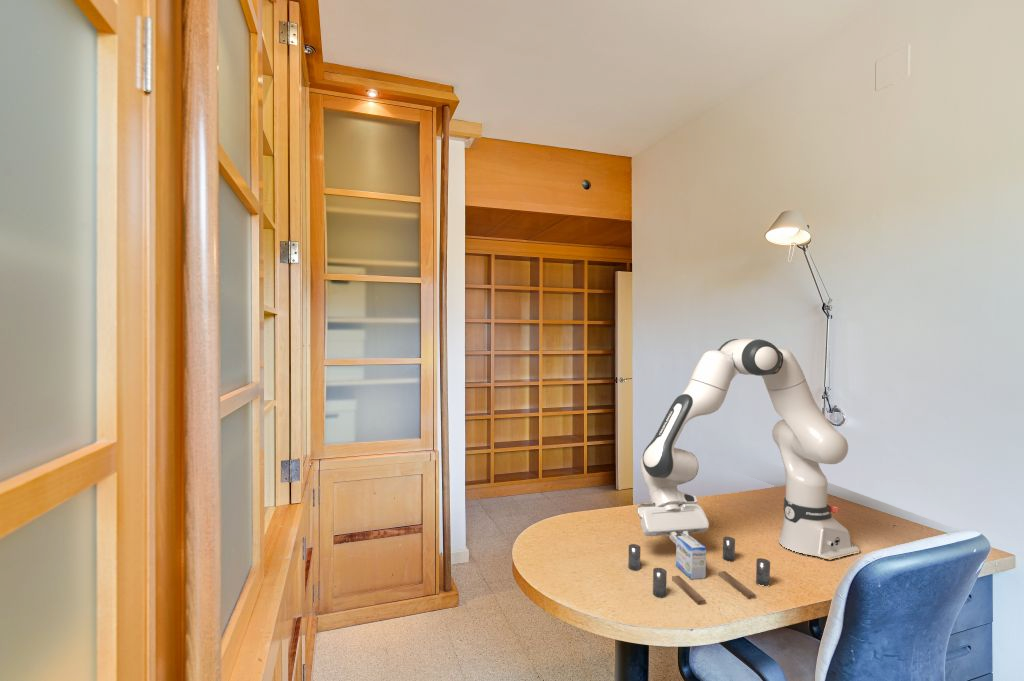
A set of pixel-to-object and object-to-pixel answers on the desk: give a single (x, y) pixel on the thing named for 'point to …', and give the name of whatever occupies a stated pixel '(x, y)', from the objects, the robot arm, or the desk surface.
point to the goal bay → (723, 575)
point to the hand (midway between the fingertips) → (683, 548)
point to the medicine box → (691, 557)
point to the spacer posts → (728, 555)
